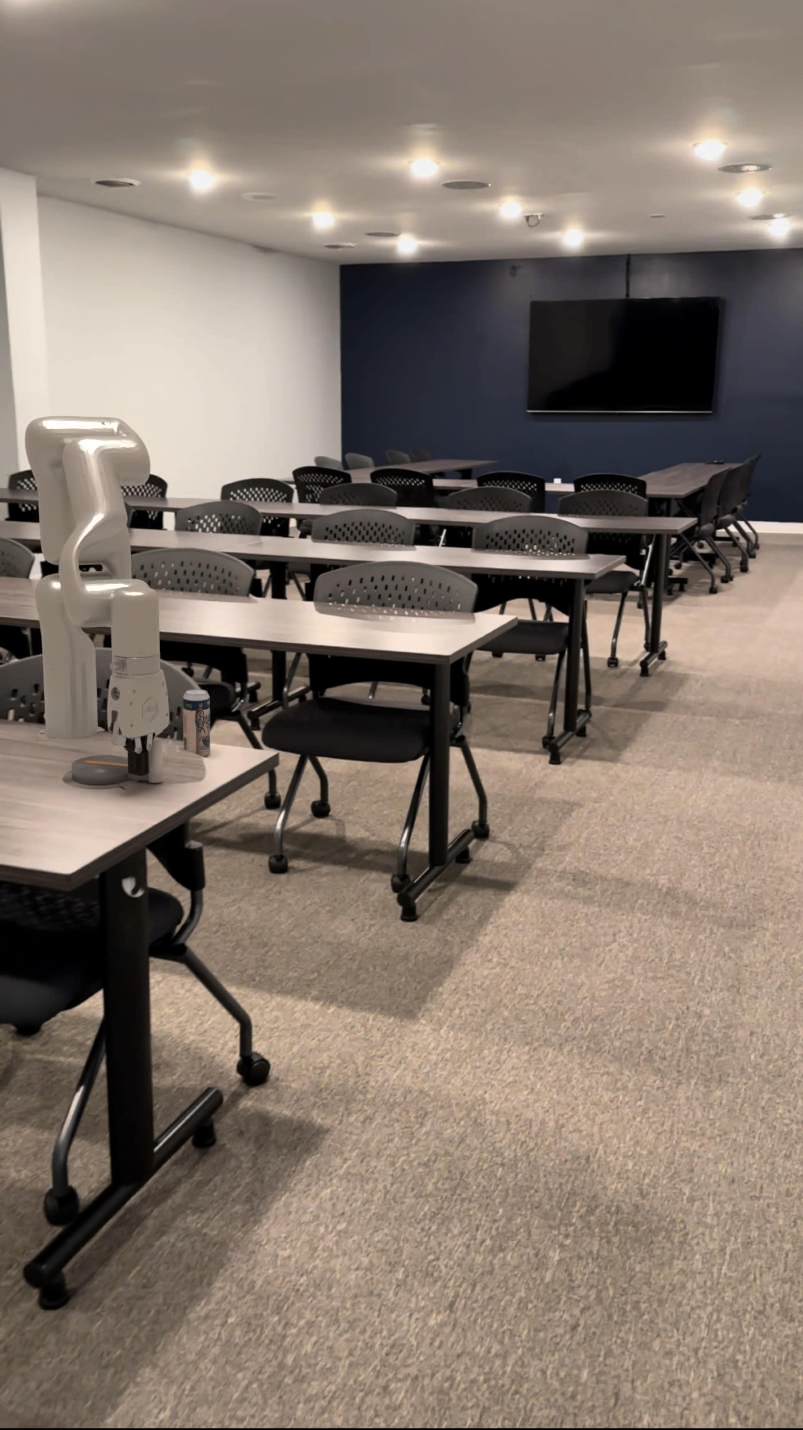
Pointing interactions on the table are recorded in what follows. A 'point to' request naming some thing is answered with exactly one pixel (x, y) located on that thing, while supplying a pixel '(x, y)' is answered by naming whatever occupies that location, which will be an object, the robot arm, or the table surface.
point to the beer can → (196, 721)
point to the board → (70, 781)
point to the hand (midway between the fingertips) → (138, 773)
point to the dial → (117, 767)
